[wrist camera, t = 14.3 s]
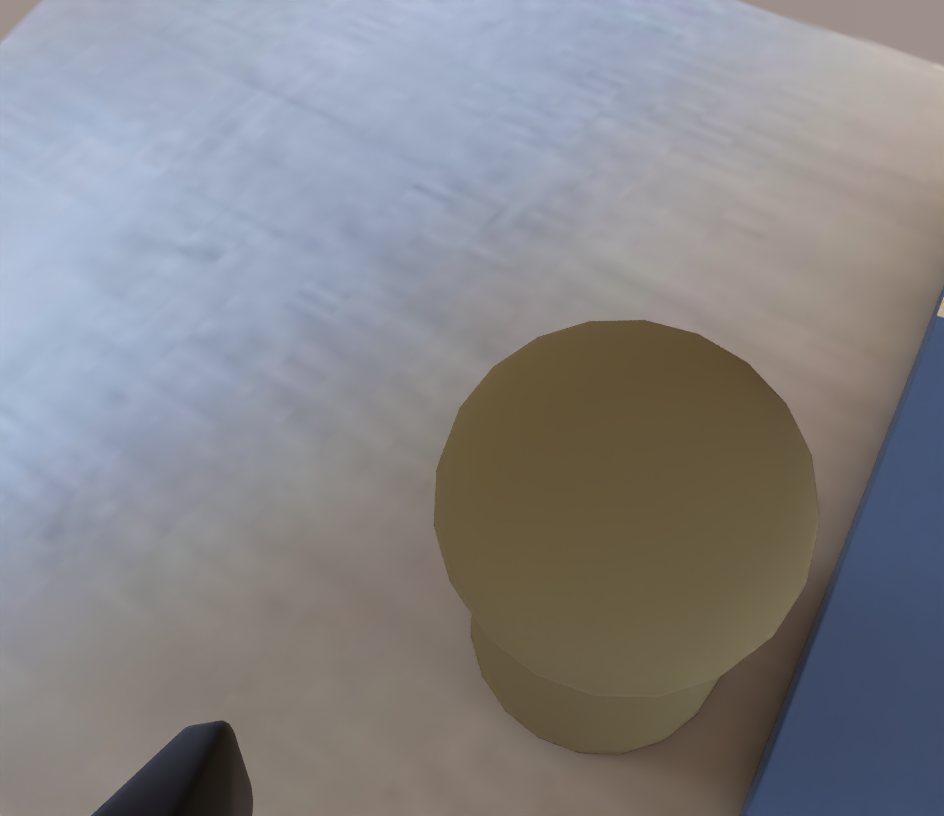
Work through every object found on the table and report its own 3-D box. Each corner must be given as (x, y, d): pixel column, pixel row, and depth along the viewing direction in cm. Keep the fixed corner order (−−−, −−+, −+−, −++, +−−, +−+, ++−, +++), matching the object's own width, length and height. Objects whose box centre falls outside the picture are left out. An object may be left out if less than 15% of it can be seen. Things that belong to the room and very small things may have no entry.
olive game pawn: (418, 615, 21) (285, 461, 11) (592, 448, 22) (615, 173, 12) (602, 817, 19) (646, 853, 9) (783, 620, 20) (1000, 457, 10)
